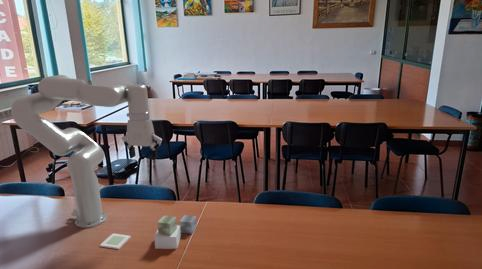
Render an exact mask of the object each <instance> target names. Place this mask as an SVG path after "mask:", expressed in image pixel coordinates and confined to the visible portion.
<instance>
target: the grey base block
mask: <svg viewBox="0 0 482 269" xmlns="http://www.w3.org/2000/svg"><path fill="white" fill-rule="evenodd" d="M153 238H154V248H155V249H156V250H158V249H163V250H170V249H171V250H175V249H176V250H177V249H178V248H179V243H180V240H181V238H182V233H181V230H180V224H179V225H178V224H177V229H176V231H175V232H174V233H173V234H172V235H171V236H168V235H161V234H159V233H158V229H157V230H156V232H155V235H154V237H153Z"/></svg>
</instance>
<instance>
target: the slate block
mask: <svg viewBox="0 0 482 269" xmlns="http://www.w3.org/2000/svg"><path fill="white" fill-rule="evenodd" d="M179 225H180V230H181V234H182V233H183V234H188V235H189V234H190V235H191V234H193V233H194V232H195V230H196V229H197V227H198V226H197V216H195V215H189V214H188V215H187V214H185V215H183V216H182V217H181V218H180V220H179Z"/></svg>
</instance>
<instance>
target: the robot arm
mask: <svg viewBox="0 0 482 269" xmlns="http://www.w3.org/2000/svg"><path fill="white" fill-rule="evenodd" d="M37 89H38V92H35V93H29V94H26V95H22V96H20V97H18V98H17V99H15V100H14V101H13V102H12V104H11V108H10V111H11V117H12V120H13V121H14V122H15V125H17V126H18V127H19V128H20V129H21V130H23V131H24V132H26V133H27V134H29V135H31V136H32V137H33V138H34V139H36V140H37V142H39V143H40V144H42V145H43V146H44V147H46V148H47V149H48V150H49V151H50V152H52V153H53V154H55V155H56V156H60V157H63V156H66V155H68V154H70V156H69V158H68V159H67V162H66V167H67V171H68V173H69V175H70V178H71V182H72V188H73V192H74V193H73V194H74V197H75V199H74V200H75V204H76V205H75V206H76V208H73V209H72V212H71V216H72V217H76V218H75V220H74V224H75V226H76V227H77V228H81V229H83V228H84V229H88V228H93V227H96V226H99V225H101V224H103V223H104V222H105V221H106V220H107V219H108V215H107V212H104V211H103V206H102V199H101V193H100V192H101V191H100V183H99V179H98V176H97V174H96V173H95V168H96V167H97V166H98V165H99V164H101V163H102V162H103V161H104V158H105V152H104V150H103V148H102V147H101V146H100V145H99V144H98V143H97V142H95V141H94V140H93V138H91V137H89V135H87V134H86V133H85V132H83V131H82V130H81V129H79V128H75V127H66V128H65V129H61V128H60V127H58V126H57V125H56V124H54V123H53V122H52V121H50V120H48V119H47V118H46V119H45V118H44V117H41V116H40V115H42V114H46V113H48V112H51V111H52V110H54V109H55V108H56V107H57V106H59V105H60V104H61V103H62V102H63V101H70V102H71V101H72V102H79V103H82V104H85V105H88V106H94V107H106V108H114V107H117V106H119V105H121V104H124V103H127V105H128V106H127V107H128V112H127V113H126V117H128V120H127V123H126V124H127V125H126V135H123V136H122V137H121V140H122V142H123V144H124V145H125V146H126V148H127V149H128V155H129V159H133V158H135V157H136V154H137V153H136V147H149V148H150V149H151V150H150V155H151V161H155V160H157V158H158V148H159V147H160V146H161V144H162V142H163V138H161V137H159V136H158V135H156V134H155V129H154V124H153V121H152V119H151V118H150V108H149V107H150V106H149V96H148V87H147V86H146V85H145V84H141V83H140V84H139V83H137V84H125V83H116V84H113V85H109V86H103V85H92V84H88V83H87V82H86V80H84V79H81V78H80V79H79V78H70V77H69V76H67V75H64V74H57V75H50V76H45V77H43V78H42V79H41V80H40V81H39V82H38V84H37ZM72 152H73V153H72ZM71 153H72V154H71Z"/></svg>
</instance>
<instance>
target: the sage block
mask: <svg viewBox="0 0 482 269" xmlns="http://www.w3.org/2000/svg"><path fill="white" fill-rule="evenodd" d="M177 222H178V221H177V217H176V216H172V215H171V216H170V215H163V216H162V217H161V218H160V219H159V220H158V221H157V230H158V233H159V234H161V235H168V236H171V235H172V234H173V233H174V232H175V231H176V229H177V225H178V224H177Z"/></svg>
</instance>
